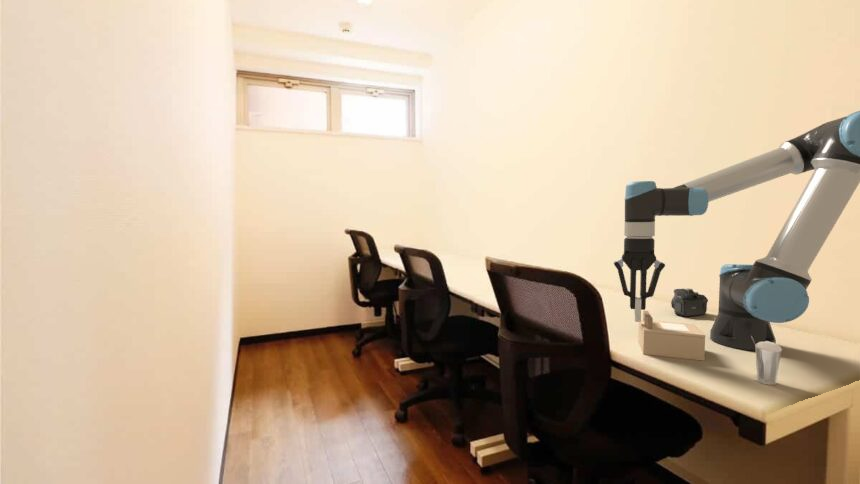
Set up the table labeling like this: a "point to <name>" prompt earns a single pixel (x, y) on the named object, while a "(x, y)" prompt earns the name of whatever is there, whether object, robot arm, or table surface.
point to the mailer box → (671, 345)
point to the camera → (688, 303)
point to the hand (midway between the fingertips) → (637, 320)
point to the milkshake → (767, 362)
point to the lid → (669, 327)
